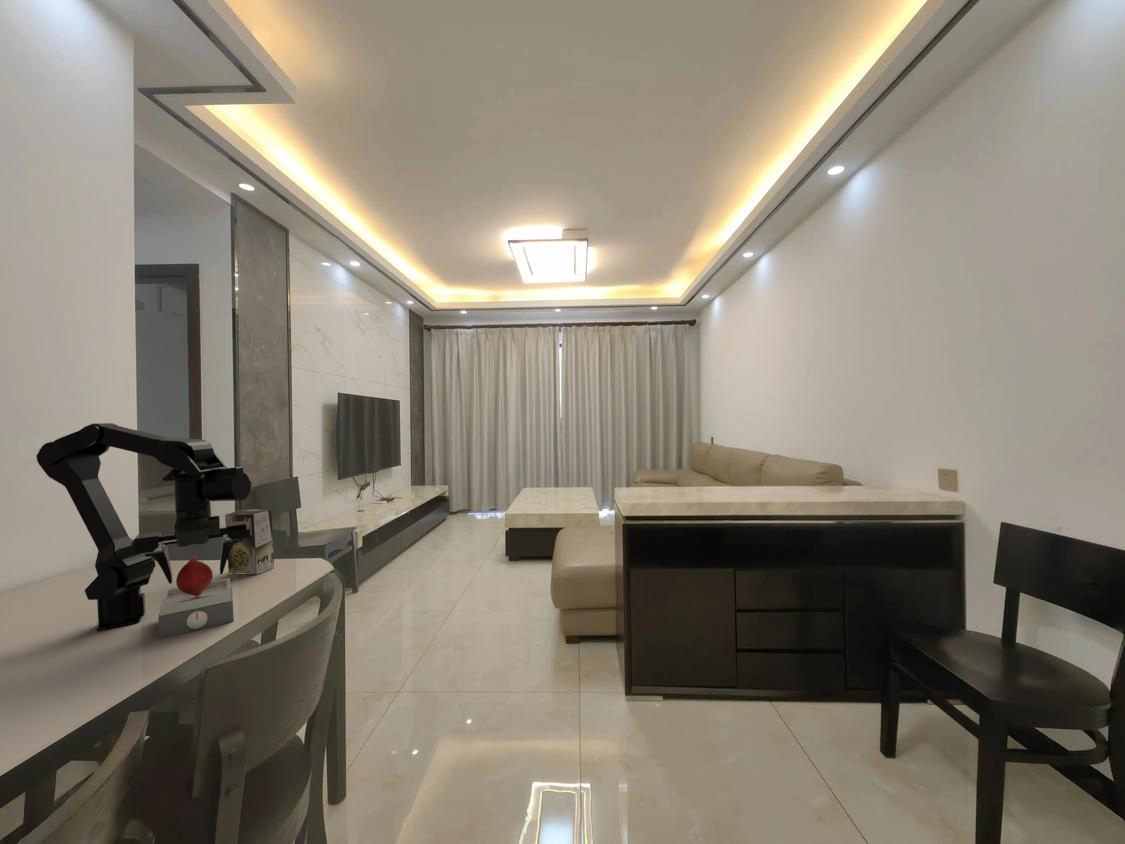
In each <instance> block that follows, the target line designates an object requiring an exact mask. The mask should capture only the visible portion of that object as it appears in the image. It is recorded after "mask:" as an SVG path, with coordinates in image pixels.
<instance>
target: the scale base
mask: <svg viewBox="0 0 1125 844" xmlns="http://www.w3.org/2000/svg"><path fill="white" fill-rule="evenodd" d="M230 588H231V601H230V602H225V603H220V604H215V605H211V606H206V607H201V608H196V609H192V610H187V611H182V612H177V613H173V614H168V615H163V616H160V612H159V614H158V617H157V622H158V638H159V639H162V638H167V637H171V636H176V635H180V634H185V633H188V632H194V631H198V630H202V629H206V628H210V627H211V628H212V627H214V626H219V625H220V626H221V625H223V624H224V625H225V624H228V623H232V622H234V618H235V617H234V601H233V587H232V585H230Z"/></svg>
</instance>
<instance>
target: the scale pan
mask: <svg viewBox="0 0 1125 844" xmlns="http://www.w3.org/2000/svg"><path fill="white" fill-rule="evenodd" d="M230 586H231V578H230V577H229V578H223V579H219V580H212V581H211V583H210V584H209V586H208V587H207V588H206V589H205V590H204V591H203V592H202V593H201V594H200V595H198V596H194V595H190V594H187V593H184V592H182V591H181V590H180V589H179V588H178V587H176V588H175V587H174V588H169V589H165V590H164V592H163V596H162V599H161V602H160V605H159V613H160V616H163V615H168V614H173V613H177V612H182V611H187V610H192V609H196V608H201V607H206V606H211V605H215V604H220V603H225V602H230V601H231V588H230Z"/></svg>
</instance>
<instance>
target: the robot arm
mask: <svg viewBox="0 0 1125 844" xmlns="http://www.w3.org/2000/svg"><path fill="white" fill-rule="evenodd" d="M110 448H115V449H120V450H124V451H127V452H131V453H135V454H141V455H145V456H149V457H152V458H154V459H155V460H157V461H158V462H159V464H161V465H164V466H166V467H169V468H171V470H170V471H169V472H168V473H167V474H166V475H165V476H163V477H162V481H163V482H173V488H174V489H173V490H174V491H173V493H174V508H175V510H174V511H175V512H174V514H175V523H174V533H173V534H167V535H165V534H164V535H162V532H161V531H157V532H156V531H155V532H148V533H141V534H137V535H136V537H134V539H132V538H130V537H131V536H129V534H128V533H127V531H126V528H125V526H124V525H123V523H122V521H121V518H120V517H119V515H118V513H117V511H116V509H115V507H114V506H113V503H112V502H111V500H110V497H109V495H108V494H107V492H106V490H105V488H104V486H103V484H102V483H101V480H100V479H99V473H100V470H101V464H102V462H101V459H100V456H102V455H104V454H106V453H107V452H108V451H109V449H110ZM36 461H37V463H38V465H39V466H40V468H41V469H42V471H44V473H45V474H46V475H47V477H48V478H50V479H52V480H53V481H55V482H57V483H59V484H60V485H62V486H64V488H65V489H66V490H67V493H68V495H69V496H70V499H71V501H72V502H73V505H74V506H75V508H76V510H77V512H78V513H79V516H80V519H81V520H82V522H83V524H84V525H85V528H86V529H87V531H88V533H89V535H90V537H91V539H92V541H93V542H94V544H95V546H96V548H97V555H96V560H95V564H94V567H95V568H94V569H95V571H96V574H97V576H96V577H95V578H94V579H93V580H92V582H90V584H89V585H88V586H87V587H86V588H85V589H84V593H85V595H86V598H87V600H88V601H94V600H95V601H97V604H96V605H97V620H98V621H97V622H98V625H97V626H96V628H95V630H96V631H97V632H98V631H103V630H108V629H109V630H110V629H114V628H118V627H122V626H128V625H132V624H136V623H139V622H141V620H142V618H143V617H144V615H145V613H147V612H146V611H147V610H146V593H144V592H142V589H141V587H143V586H146V585H149V583H150V580H151V576H152V574H153V573H154V570H155V568H156V562H157V564H158V565H159V566H160V569H161V570H162V572H163V575H164V576H165V579H166V580H167V583H168V584H173V573H172V566H171V560H170V555H169V551H168V546H169V545H174V544H176V546H177V547H179V548H185V547H188V546H192V545H193V546H194V545H204V544H207V543H208V542H209V540H210V539H216V538H217V539H218V538H222V545H221V551H220V553H221V554H220V562H219V573H220V574H219V575H223V573H224V571H225V567H226V564H227V562H228V555H229V553H230V551H231V549H232V547H233V545H234V544H235V543H239V542H240V539H242V538H248V537H250V526H249V523H248V522H247V521H239V522H231V523H227V527H226V526H225V527H224V526H223V527H221V524H220V523H221V522H220V521H221V520H220V515H212V507H211V505H212V504H211V502H232V501H233V502H234V501H235V502H236V501H237V502H238V501H240V502H241V501H244V500H246V499H247V498H248V497H249V495H250V493H251V489H252V481H251V480H250V477H249V476H248V475H247V473H245V472H244V467H243V466H234V467H228V466H227V465H226V464H225V463H224V462H223V460H222V459H221V457H219V455H218V454H217V453H216V451H214V448H213V446H212V443H211V442H210V441H208V440H205V439H200V438H199V439H197V438H171V437H165V436H162V435H158V434H153V433H149V432H145V431H141V430H137V429H134V428H129V427H128V428H127V427H124V426H121V425H118V424H115V423H111V422H109V423H107V422H106V423H105V422H104V423H103V422H102V423H90V424H88V425H85V426H84V427H82V428H80V429H79V430H77V431H74V432H72V433H69V434H67V435H64V436H62V437H58V438H56V439H55V440H53V441H49V442H45V443H44V444H43V445H42V446H41V447H40V448H39V450H38V452H37V453H36Z"/></svg>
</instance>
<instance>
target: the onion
mask: <svg viewBox="0 0 1125 844" xmlns="http://www.w3.org/2000/svg"><path fill="white" fill-rule="evenodd" d="M213 575H214V574H213V570H212V568H211V567H210V565H208V564H207V563H204V562H202V561H201V560H200V561H199V560H198V557H197V556H193V557H191V558H190V559H189V561H188V562H187V563H186V564H184V565H183V566H182V567H181V569H180V570H179V572H178V574H177V576H176V581H175V583H176V586H177V587H176V588H179V589H180V590H181V591H182V592H184V593H187V594H190V595H194V596H198V595H200V594H201V593H202V592H203V591H204V590H205V589H206V588H207V587H208V586H209V584H210V583H211V582H212V581H213V578H214V576H213Z"/></svg>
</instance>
